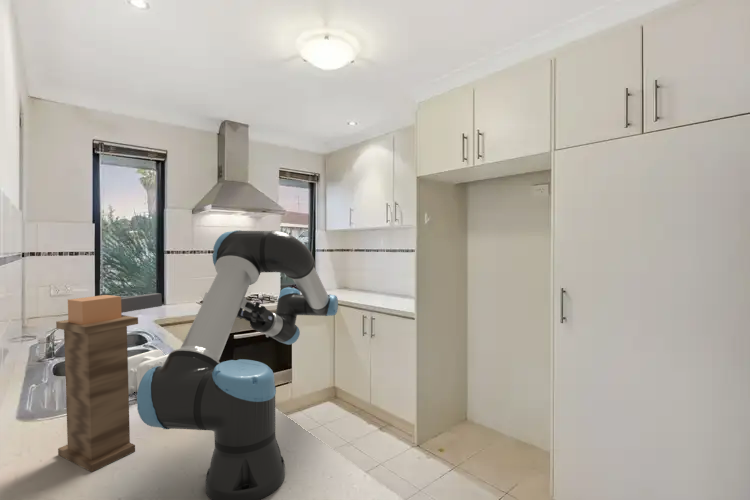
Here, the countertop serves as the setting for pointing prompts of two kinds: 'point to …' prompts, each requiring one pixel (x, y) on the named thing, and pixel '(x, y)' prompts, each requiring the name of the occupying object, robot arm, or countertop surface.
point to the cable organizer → (142, 367)
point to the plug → (108, 307)
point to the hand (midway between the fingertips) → (220, 298)
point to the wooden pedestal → (97, 392)
